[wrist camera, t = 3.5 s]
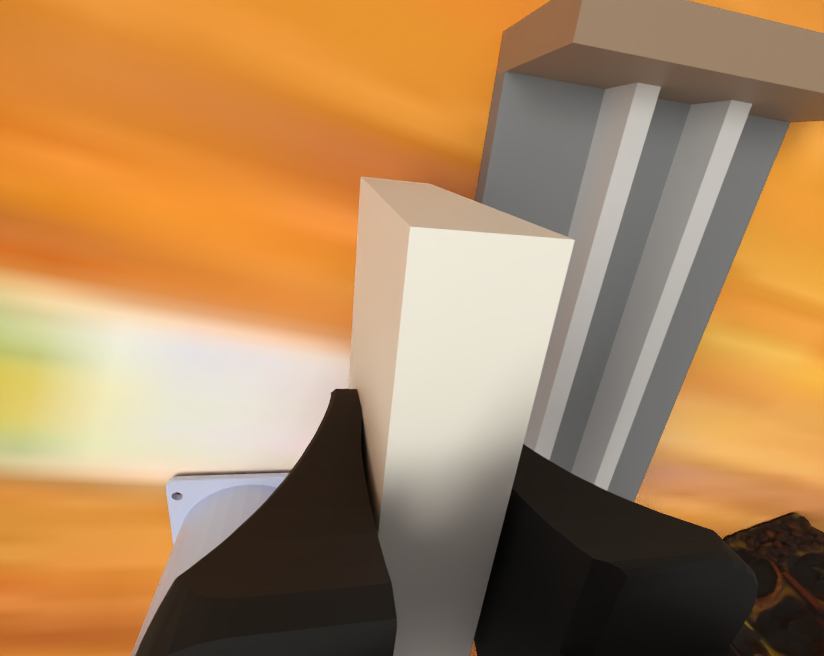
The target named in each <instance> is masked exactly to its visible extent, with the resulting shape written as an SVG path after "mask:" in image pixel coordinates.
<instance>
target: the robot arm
mask: <svg viewBox="0 0 824 656" xmlns="http://www.w3.org/2000/svg"><path fill="white" fill-rule="evenodd" d="M361 430H362V408H361V403H360V398H359V394H358V391H357V389H335V390H334V391H333V392H332V393H331V399H330V403H329V406H328V408H327V411H326V413H325V416H324V418H323V420H322V422H321V424H320V426H319V428H318V430H317V432H316V434H315V435H314V437H313V439H312V440H311V442H310V444H309V445H308V447H307V448H306V450H305V452H304V453H303V455H302V456H301V458H300V459H299V461H298V462H297V463H296V465H295V466H294V468H293V469H292V470H291V471H290V473H264V474H233V475H201V476H176V477H173V478H171V479H170V480H169V481H168V483H167V485H166V494H167V501H168V509H169V517H170V524H171V532H172V539H173V548H172V551H171V554H170V556H169V559H168V561H167V564H166V566H165V569H164V572H163V574H162V577H161V579H160V582H159V584H158V587H157V590H156V592H155V595H154V597H153V600H152V602H151V605H150V608H149V610H148V613H147V615H146V618H145V620H144V623H143V626H142V628H141V631H140V633H139V636H138V638H137V641H136V644H135V646H134V649H133V651H132V654H131V656H393V653H394V646H395V639H396V632H397V616H396V609H395V602H394V595H393V588H392V582H391V579H390V576H389V573H388V570H387V567H386V564H385V560H384V556H383V553H382V549H381V546H380V542H379V539H378V535H377V531H376V527H375V522H374V518H373V514H372V510H371V505H370V500H369V495H368V490H367V485H366V479H365V473H364V467H363V461H362V452H361ZM176 492H178V493H181V494H180V495H179V494H176ZM757 592H758V581H757V578H756V575H755V572H754V571H753V570H752V569H751V568H750V567H749V566H748V565H747V564H746V563H745V562H744V561H743V560H742V559H741V558H740V557H739V556H738V555H737V554H736V553H735V552H734V551H733V550H732V549H731V548H730V547H729V546H728V545H727V544H726V543H725V542H724V541H723V540H722V538H721V537H720V536H719V535H718V534H717V533H716V532H714V531H713V530H710V529H707V528H704V527H701V526H698V525H695V524H692V523H689V522H686V521H683V520H680V519H677V518H675V517H672V516H669V515H666V514H663V513H660V512H657V511H654V510H652V509H649V508H647V507H644V506H642V505H639V504H637V503H634V502H632V501H629V500H627V499H624V498H622V497H620V496H618V495H615V494H613V493H611V492H609V491H606V490H604V489H602V488H600V487H598V486H596V485H594V484H592V483H590V482H588V481H586V480H584V479H582V478H580V477H578V476H576V475H574V474H572V473H570V472H568V471H567V470H565V469H563V468H561V467H560V466H558V465H556V464H555V463H553V462H551V461H550V460H548V459H546V458H544V457H543V456H541V455H540V454H538V453H536V452H535V451H533V450H532V449H530V448H529V447H527V446H526V445H525V444H523V447H522V451H521V455H520V459H519V462H518V466H517V470H516V474H515V478H514V482H513V486H512V490H511V494H510V498H509V502H508V506H507V510H506V514H505V518H504V522H503V526H502V530H501V533H500V537H499V541H498V545H497V549H496V553H495V557H494V561H493V565H492V569H491V573H490V577H489V581H488V585H487V589H486V593H485V597H484V601H483V605H482V608H481V612H480V616H479V620H478V624H477V628H476V632H475V636H474V642H475V646H476V651H477V656H738V655H737V654H736V653H735V652H734V651H733V649H732V648H731V647H730V645H731V643H732V642H733V640H734V638H735V637H736V635H737V634H738V632H739V630H740V629H741V627H742V625H743V624H744V622H745V621H746V619H747V617H748V616H749V614H750V612H751V610H752V608H753V606H754V604H755V602H756V599H757Z"/></svg>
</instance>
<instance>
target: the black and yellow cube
mask: <svg viewBox="0 0 824 656" xmlns="http://www.w3.org/2000/svg"><path fill="white" fill-rule="evenodd" d="M724 542H725V543H726V544H727V545H728V546H729V547H730V548H731V549H732V550H733V551H734V552H735V553H736V554H737V555H738V556H739V557H740V558H741V559H742V560H743V561H744V562H745V563H746V564H747V565H748V566H749V567H750V568H751V569H752V570H753V571H754V572H755V575H756V578H757V581H758V592H757V599H756V602H755V604H754V606H753V608H752V610H751V612H750V614H749V616H748V617H747V619H746V621H745V622H744V624H743V625H742V627H741V629H740V630H739V632H738V634H737V635H736V637H735V638H734V640H733V642H732V643H731V645H730V647H731V648H732V649H733V651H734V652H735V653H736V654H737V655H738V656H824V533H823V532H822V531H820V530H818V529H816V528H814V527H812V526H811V525H810V523H809V521H808V520H807V519H806V518H805V517H802V516H799V515H797V514H795V513H794V514H790V515H786V516H783V517H780V518H777V519H775V520H772V521H770V522H767V523H764V524H761V525H758V526H756V527H753V528H750V529H747V530H744V531H742V532H739V533H737V534H735V535H733V536H731V537H729V538H727V539H726V540H724Z"/></svg>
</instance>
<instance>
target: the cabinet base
mask: <svg viewBox="0 0 824 656" xmlns="http://www.w3.org/2000/svg"><path fill="white" fill-rule="evenodd" d="M805 121H824V33H820V32H816V31H812V30H808V29H803V28H799V27H795V26H791V25H787V24H783V23H779V22H774V21H770V20H766V19H762V18H758V17H754V16H749V15H745V14H741V13H737V12H733V11H729V10H725V9H720V8H716V7H712V6H708V5H704V4H700V3H695V2H691V1H687V0H551V1H549V2H548V3H546V4H545V5H543V6H542V7H540V8H539V9H537V10H536V11H534V12H532V13H531V14H529V15H528V16H526V17H525V18H523V19H522V20H520V21H519V22H517V23H516V24H514V25H513V26H511V27H510V28H508V29H507V30H505V31H503V37H502V42H501V48H500V54H499V60H498V66H497V72H496V78H495V84H494V90H493V96H492V102H491V108H490V114H489V120H488V126H487V132H486V138H485V144H484V150H483V156H482V162H481V168H480V174H479V180H478V186H477V192H476V197H475V201H476V202H479V203H481V204H484V205H487V206H489V207H492V208H494V209H497V210H499V211H502V212H505V213H507V214H510V215H512V216H515V217H518V218H520V219H523V220H525V221H528V222H530V223H533V224H536V225H538V226H541V227H543V228H546V229H549V230H551V231H554V232H556V233H559V234H561V235H564V236H567V237H569V238H572V239H574V240H575V241H574V245H573V249H572V253H571V257H570V261H569V265H568V269H567V273H566V277H565V281H564V285H563V289H562V293H561V297H560V301H559V305H558V309H557V312H556V316H555V320H554V324H553V328H552V332H551V336H550V340H549V344H548V348H547V352H546V356H545V360H544V364H543V368H542V372H541V376H540V380H539V384H538V387H537V391H536V395H535V399H534V403H533V407H532V411H531V415H530V419H529V423H528V427H527V431H526V435H525V439H524V443H523V444H525V445H526V446H527V447H529V448H530V449H532V450H533V451H535V452H536V453H538V454H540V455H541V456H543V457H544V458H546V459H548V460H550V461H551V462H553V463H555V464H556V465H558V466H560V467H561V468H563V469H565V470H567V471H568V472H570V473H572V474H574V475H576V476H578V477H580V478H582V479H584V480H586V481H588V482H590V483H592V484H594V485H596V486H598V487H600V488H602V489H604V490H606V491H609V492H611V493H613V494H615V495H618V496H620V497H622V498H624V499H627V500H629V501H632V502H634V501H635V498H636V496H637V493H638V491H639V489H640V486H641V484H642V481H643V479H644V476H645V474H646V472H647V469H648V467H649V464H650V462H651V459H652V457H653V455H654V452H655V450H656V447H657V445H658V442H659V440H660V438H661V435H662V433H663V430H664V428H665V425H666V423H667V421H668V418H669V416H670V413H671V411H672V408H673V406H674V404H675V401H676V399H677V396H678V394H679V391H680V389H681V387H682V384H683V382H684V379H685V377H686V374H687V372H688V370H689V367H690V365H691V362H692V360H693V357H694V355H695V353H696V350H697V348H698V345H699V343H700V340H701V338H702V335H703V333H704V331H705V328H706V326H707V323H708V321H709V318H710V316H711V314H712V311H713V309H714V306H715V304H716V301H717V299H718V297H719V294H720V292H721V289H722V287H723V284H724V282H725V280H726V277H727V275H728V272H729V270H730V267H731V265H732V263H733V260H734V258H735V255H736V253H737V250H738V248H739V246H740V243H741V241H742V238H743V236H744V233H745V231H746V229H747V226H748V224H749V221H750V219H751V216H752V214H753V212H754V209H755V207H756V204H757V202H758V199H759V197H760V195H761V192H762V190H763V187H764V185H765V182H766V180H767V178H768V175H769V173H770V170H771V168H772V165H773V163H774V161H775V158H776V156H777V153H778V151H779V148H780V146H781V144H782V141H783V139H784V136H785V134H786V131H787V129H788V127H789V124H790V122H805Z"/></svg>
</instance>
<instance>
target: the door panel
mask: <svg viewBox="0 0 824 656" xmlns="http://www.w3.org/2000/svg"><path fill="white" fill-rule="evenodd" d="M574 241H575V240H574V239H572V238H569V237H567V236H564V235H561V234H559V233H556V232H554V231H551V230H549V229H546V228H543V227H541V226H538V225H536V224H533V223H530V222H528V221H525V220H523V219H520V218H518V217H515V216H512V215H510V214H507V213H505V212H502V211H499V210H497V209H494V208H492V207H489V206H487V205H484V204H481V203H479V202H476V201H474V200H471V199H468V198H466V197H463V196H461V195H458V194H456V193H453V192H450V191H448V190H445V189H443V188H440V187H437V186H435V185H432V184H429V183H419V182H410V181H400V180H390V179H380V178H370V177H361V181H360V199H359V217H358V234H357V252H356V269H355V287H354V304H353V322H352V339H351V357H350V375H349V389H357V391H358V394H359V398H360V403H361V408H362V430H361V452H362V461H363V467H364V473H365V479H366V485H367V490H368V495H369V500H370V505H371V510H372V514H373V518H374V522H375V527H376V531H377V535H378V539H379V542H380V546H381V549H382V553H383V556H384V560H385V564H386V567H387V570H388V573H389V576H390V579H391V582H392V588H393V595H394V602H395V609H396V616H397V632H396V639H395V646H394V653H393V656H470V652H471V648H472V644H473V640H474V636H475V632H476V628H477V624H478V620H479V616H480V612H481V608H482V605H483V601H484V597H485V593H486V589H487V585H488V581H489V577H490V573H491V569H492V565H493V561H494V557H495V553H496V549H497V545H498V541H499V537H500V533H501V530H502V526H503V522H504V518H505V514H506V510H507V506H508V502H509V498H510V494H511V490H512V486H513V482H514V478H515V474H516V470H517V466H518V462H519V459H520V455H521V451H522V447H523V443H524V439H525V435H526V431H527V427H528V423H529V419H530V415H531V411H532V407H533V403H534V399H535V395H536V391H537V387H538V384H539V380H540V376H541V372H542V368H543V364H544V360H545V356H546V352H547V348H548V344H549V340H550V336H551V332H552V328H553V324H554V320H555V316H556V312H557V309H558V305H559V301H560V297H561V293H562V289H563V285H564V281H565V277H566V273H567V269H568V265H569V261H570V257H571V253H572V249H573V245H574Z"/></svg>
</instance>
